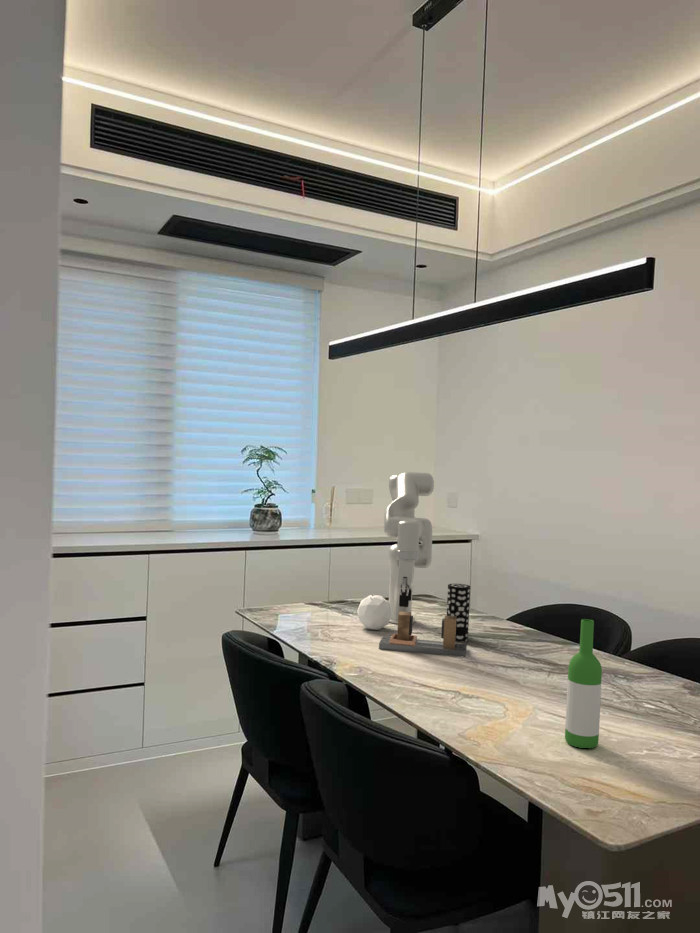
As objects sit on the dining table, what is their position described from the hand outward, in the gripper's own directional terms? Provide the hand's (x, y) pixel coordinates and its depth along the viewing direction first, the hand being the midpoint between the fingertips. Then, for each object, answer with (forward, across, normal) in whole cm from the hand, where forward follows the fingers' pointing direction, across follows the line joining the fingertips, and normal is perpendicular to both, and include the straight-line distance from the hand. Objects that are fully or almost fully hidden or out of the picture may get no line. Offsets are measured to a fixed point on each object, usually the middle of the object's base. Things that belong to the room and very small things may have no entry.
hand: (405, 603), depth 253 cm
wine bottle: (+13, +73, +51) cm, 90 cm away
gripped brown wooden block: (+13, +1, 0) cm, 13 cm away
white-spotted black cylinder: (+16, -18, +18) cm, 30 cm away
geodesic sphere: (+16, -22, -14) cm, 31 cm away
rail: (+15, +1, +7) cm, 17 cm away
